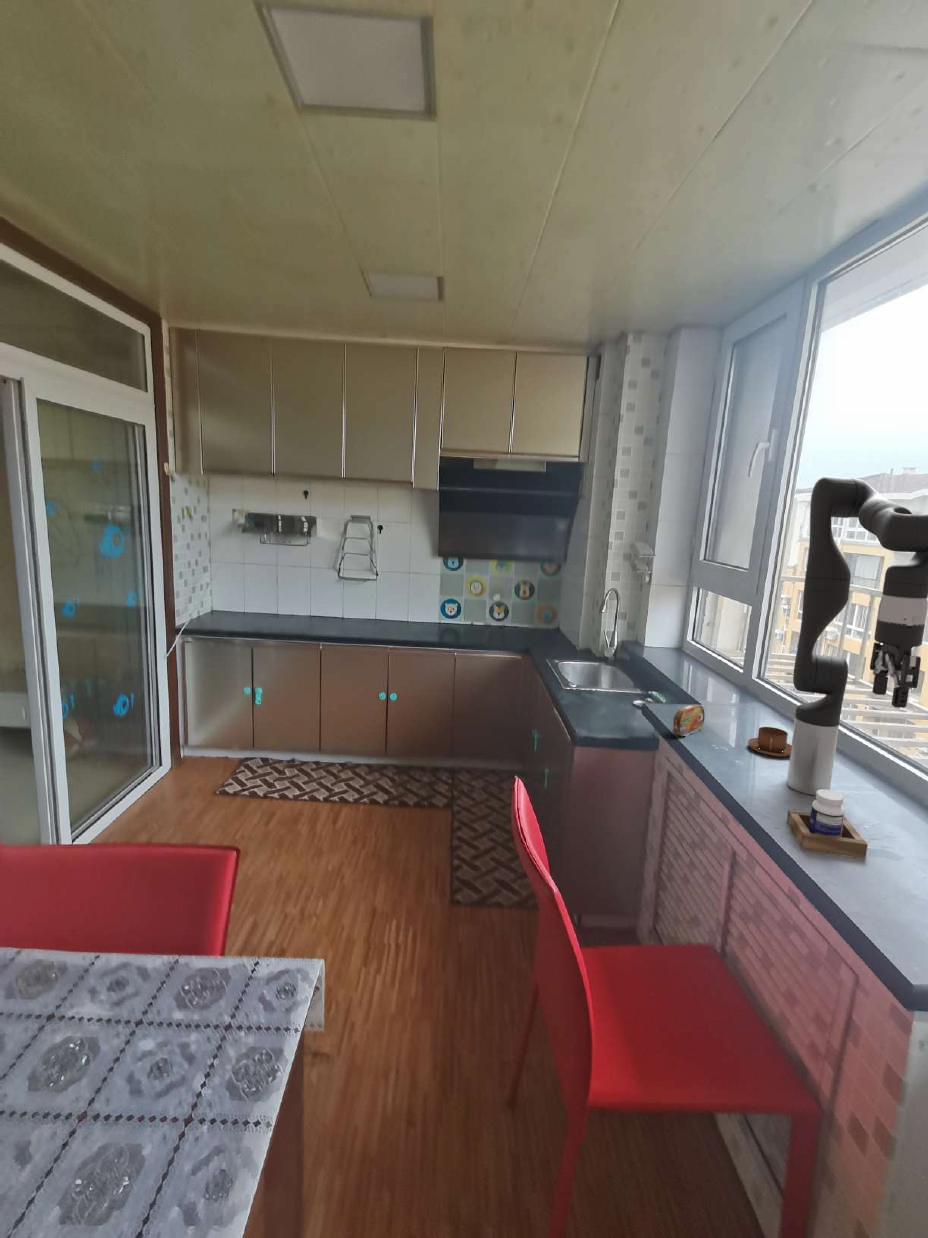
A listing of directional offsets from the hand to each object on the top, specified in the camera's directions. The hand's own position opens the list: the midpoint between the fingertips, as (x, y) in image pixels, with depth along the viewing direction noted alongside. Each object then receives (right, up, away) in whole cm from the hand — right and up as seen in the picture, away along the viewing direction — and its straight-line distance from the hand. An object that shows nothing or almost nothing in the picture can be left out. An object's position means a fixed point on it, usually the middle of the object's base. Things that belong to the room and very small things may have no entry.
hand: (888, 700), depth 116 cm
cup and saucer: (+4, -22, +52) cm, 57 cm away
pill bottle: (-10, -29, +5) cm, 31 cm away
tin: (-15, -19, +65) cm, 69 cm away
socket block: (-10, -29, +5) cm, 31 cm away
